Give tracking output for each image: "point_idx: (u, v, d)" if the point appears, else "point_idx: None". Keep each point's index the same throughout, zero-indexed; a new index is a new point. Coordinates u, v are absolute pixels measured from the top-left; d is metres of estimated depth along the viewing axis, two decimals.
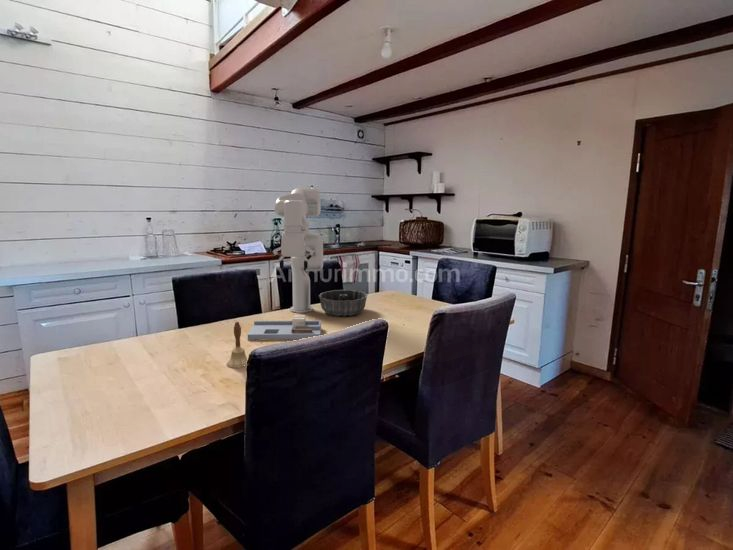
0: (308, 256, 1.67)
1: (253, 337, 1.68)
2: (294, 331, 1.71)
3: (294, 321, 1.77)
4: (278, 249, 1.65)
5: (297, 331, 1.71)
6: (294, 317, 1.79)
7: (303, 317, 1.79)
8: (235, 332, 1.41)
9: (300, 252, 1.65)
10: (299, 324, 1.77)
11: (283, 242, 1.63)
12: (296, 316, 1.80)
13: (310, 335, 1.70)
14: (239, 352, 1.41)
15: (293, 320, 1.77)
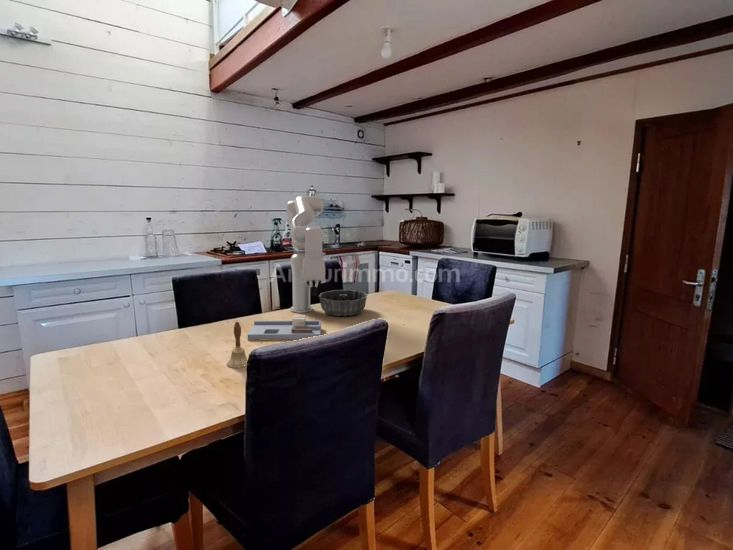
0: (318, 282, 1.76)
1: (253, 337, 1.68)
2: (294, 331, 1.71)
3: (294, 321, 1.77)
4: (302, 280, 1.76)
5: (297, 331, 1.71)
6: (294, 317, 1.79)
7: (303, 317, 1.79)
8: (235, 332, 1.41)
9: (320, 276, 1.74)
10: (299, 324, 1.77)
11: (304, 267, 1.73)
12: (296, 316, 1.80)
13: (310, 335, 1.70)
14: (239, 352, 1.41)
15: (293, 320, 1.77)
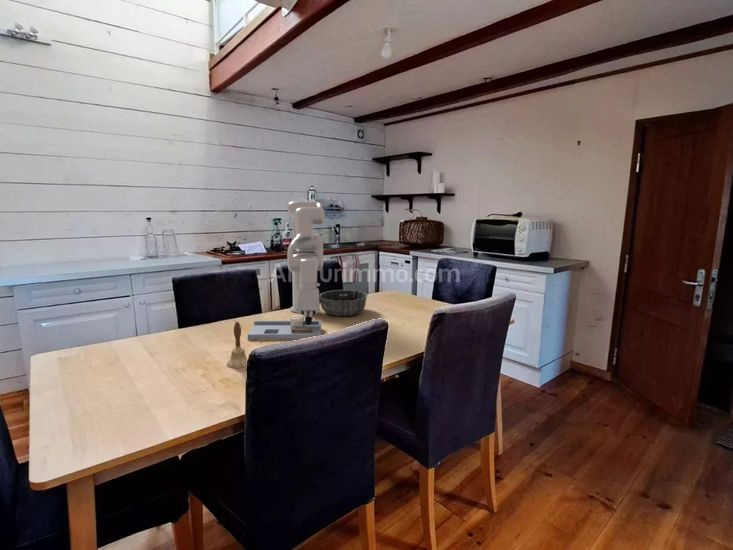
0: None
1: (253, 337, 1.68)
2: (294, 331, 1.71)
3: (292, 321, 1.77)
4: (297, 310, 1.78)
5: (297, 331, 1.71)
6: (292, 317, 1.79)
7: (301, 317, 1.79)
8: (235, 332, 1.41)
9: (315, 306, 1.77)
10: (297, 324, 1.77)
11: (299, 297, 1.76)
12: (294, 316, 1.80)
13: (310, 335, 1.70)
14: (239, 352, 1.41)
15: (291, 320, 1.77)
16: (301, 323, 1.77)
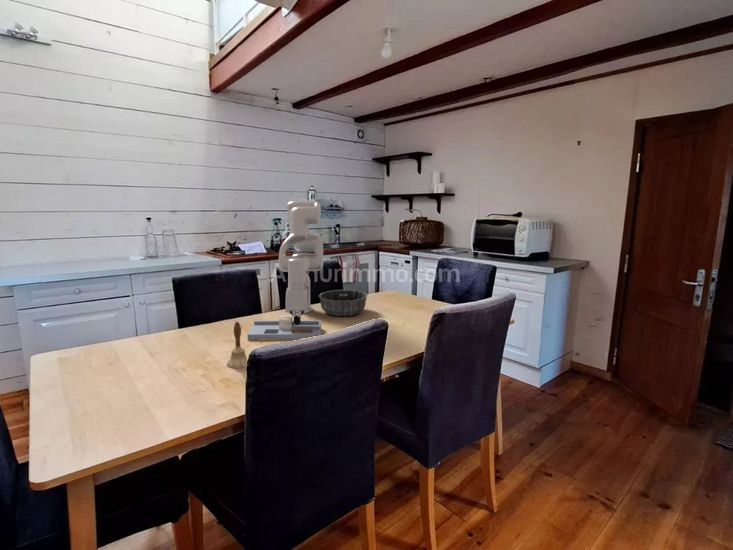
0: (301, 312, 1.78)
1: (253, 337, 1.68)
2: (294, 331, 1.71)
3: (280, 322, 1.76)
4: (286, 310, 1.78)
5: (297, 331, 1.71)
6: (281, 317, 1.78)
7: (290, 317, 1.78)
8: (235, 332, 1.41)
9: (303, 306, 1.76)
10: (286, 324, 1.76)
11: (287, 297, 1.75)
12: (283, 316, 1.79)
13: (310, 335, 1.70)
14: (239, 352, 1.41)
15: (280, 320, 1.76)
16: (290, 323, 1.76)
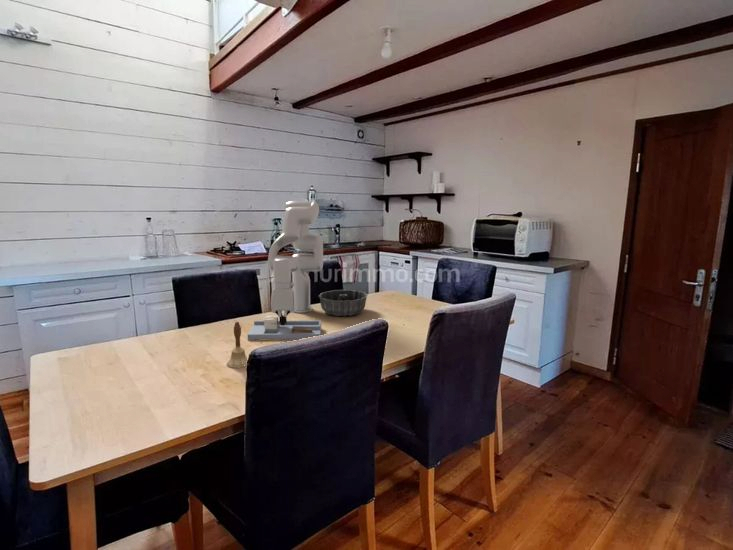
0: (287, 312, 1.78)
1: (253, 337, 1.68)
2: (294, 331, 1.71)
3: (266, 322, 1.75)
4: (271, 310, 1.77)
5: (297, 331, 1.71)
6: (266, 318, 1.77)
7: (275, 318, 1.77)
8: (235, 332, 1.41)
9: (289, 306, 1.76)
10: (271, 325, 1.75)
11: (273, 297, 1.75)
12: (268, 317, 1.79)
13: (310, 335, 1.70)
14: (239, 352, 1.41)
15: (265, 321, 1.75)
16: (275, 324, 1.76)
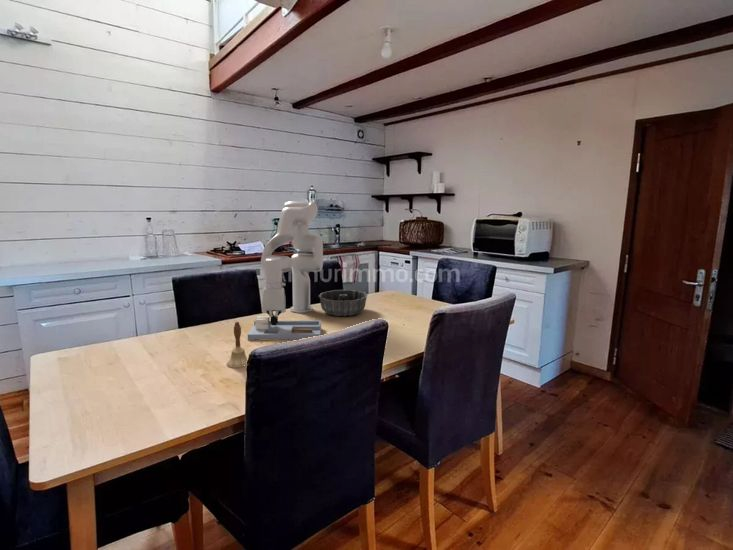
0: (278, 312, 1.77)
1: (253, 337, 1.68)
2: (294, 331, 1.71)
3: (257, 322, 1.74)
4: (263, 310, 1.77)
5: (297, 331, 1.71)
6: (257, 318, 1.76)
7: (267, 318, 1.77)
8: (235, 332, 1.41)
9: (280, 306, 1.76)
10: (262, 325, 1.75)
11: (264, 297, 1.74)
12: (260, 317, 1.78)
13: (310, 335, 1.70)
14: (239, 352, 1.41)
15: (256, 321, 1.74)
16: (266, 324, 1.75)
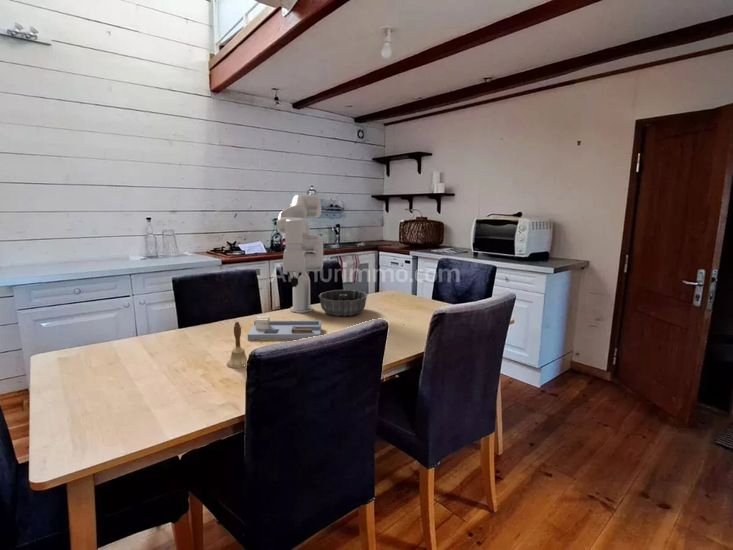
0: None
1: (253, 337, 1.68)
2: (294, 331, 1.71)
3: (257, 322, 1.74)
4: (283, 271, 1.78)
5: (297, 331, 1.71)
6: (257, 318, 1.76)
7: (267, 318, 1.77)
8: (235, 332, 1.41)
9: (300, 267, 1.76)
10: (262, 325, 1.75)
11: (284, 258, 1.75)
12: (260, 317, 1.78)
13: (310, 335, 1.70)
14: (239, 352, 1.41)
15: (256, 321, 1.74)
16: (266, 324, 1.75)
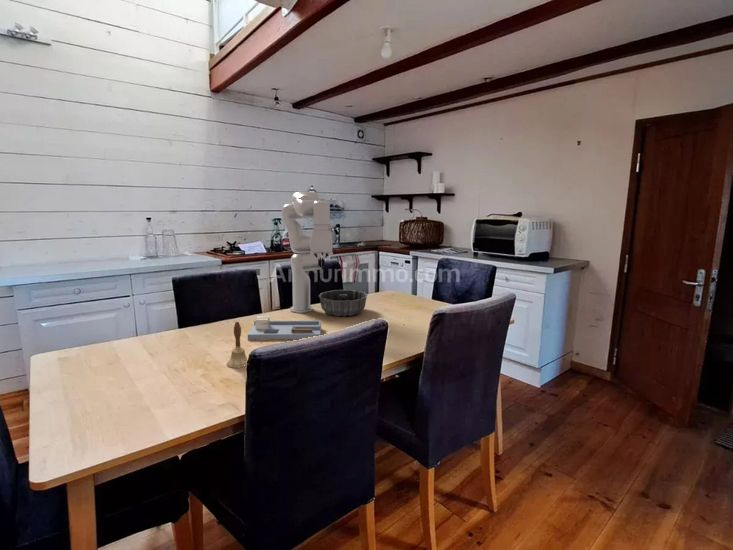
0: None
1: (253, 337, 1.68)
2: (294, 331, 1.71)
3: (257, 322, 1.74)
4: (310, 253, 1.81)
5: (297, 331, 1.71)
6: (257, 318, 1.76)
7: (267, 318, 1.77)
8: (235, 332, 1.41)
9: (328, 248, 1.80)
10: (262, 325, 1.75)
11: (312, 239, 1.79)
12: (260, 317, 1.78)
13: (310, 335, 1.70)
14: (239, 352, 1.41)
15: (256, 321, 1.74)
16: (266, 324, 1.75)
